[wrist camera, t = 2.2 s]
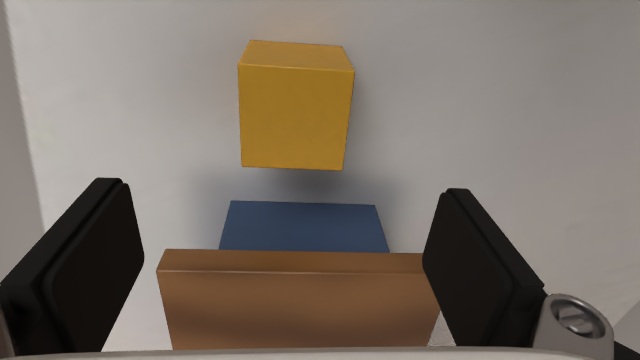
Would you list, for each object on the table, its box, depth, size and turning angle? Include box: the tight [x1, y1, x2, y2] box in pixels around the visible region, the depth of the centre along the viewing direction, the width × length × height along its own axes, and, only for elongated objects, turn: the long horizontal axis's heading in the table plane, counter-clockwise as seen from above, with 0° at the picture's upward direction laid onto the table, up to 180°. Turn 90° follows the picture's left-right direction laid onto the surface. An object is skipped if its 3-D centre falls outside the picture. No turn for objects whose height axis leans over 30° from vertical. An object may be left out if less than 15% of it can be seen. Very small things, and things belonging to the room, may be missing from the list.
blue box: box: [218, 201, 390, 253], centre depth 26 cm, size 16×10×7 cm, turn 175°
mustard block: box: [238, 40, 355, 171], centre depth 19 cm, size 5×5×5 cm
